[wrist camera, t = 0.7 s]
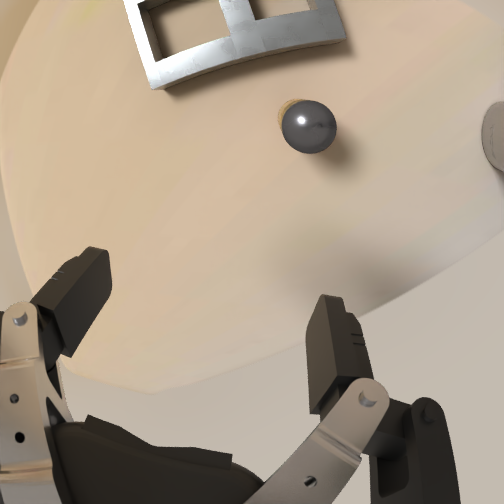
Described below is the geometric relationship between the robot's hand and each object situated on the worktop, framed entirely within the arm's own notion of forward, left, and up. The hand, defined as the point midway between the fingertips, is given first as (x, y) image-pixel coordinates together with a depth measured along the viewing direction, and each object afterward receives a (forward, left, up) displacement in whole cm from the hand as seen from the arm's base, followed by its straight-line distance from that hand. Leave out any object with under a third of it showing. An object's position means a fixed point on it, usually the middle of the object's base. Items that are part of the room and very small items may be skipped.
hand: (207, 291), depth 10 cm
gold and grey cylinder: (-6, -3, -21) cm, 22 cm away
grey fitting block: (-3, -16, -21) cm, 27 cm away
